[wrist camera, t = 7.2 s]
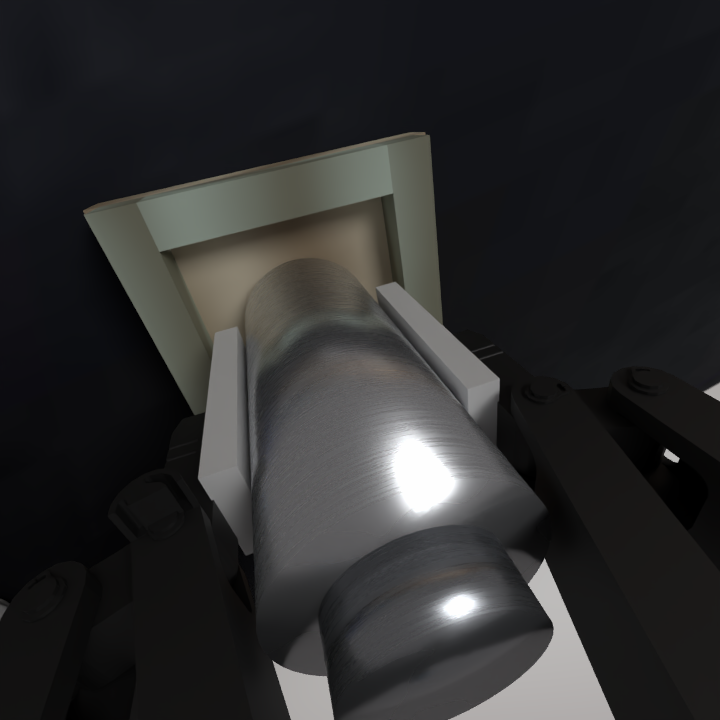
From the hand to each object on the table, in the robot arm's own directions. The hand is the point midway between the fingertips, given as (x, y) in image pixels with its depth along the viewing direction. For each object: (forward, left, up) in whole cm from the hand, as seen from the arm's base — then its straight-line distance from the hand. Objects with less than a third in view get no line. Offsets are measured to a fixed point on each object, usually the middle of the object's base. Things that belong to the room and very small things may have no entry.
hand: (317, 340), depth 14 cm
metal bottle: (0, 0, -2) cm, 2 cm away
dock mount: (0, -3, -4) cm, 5 cm away
